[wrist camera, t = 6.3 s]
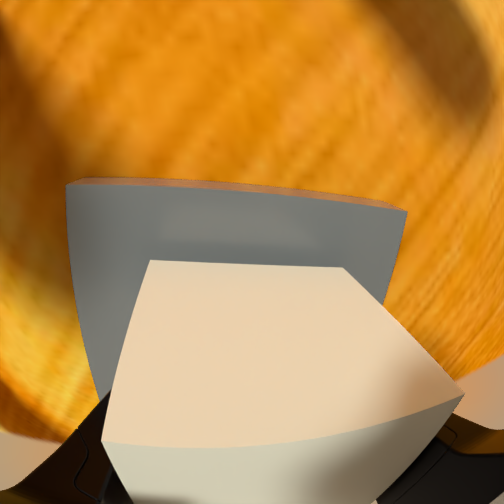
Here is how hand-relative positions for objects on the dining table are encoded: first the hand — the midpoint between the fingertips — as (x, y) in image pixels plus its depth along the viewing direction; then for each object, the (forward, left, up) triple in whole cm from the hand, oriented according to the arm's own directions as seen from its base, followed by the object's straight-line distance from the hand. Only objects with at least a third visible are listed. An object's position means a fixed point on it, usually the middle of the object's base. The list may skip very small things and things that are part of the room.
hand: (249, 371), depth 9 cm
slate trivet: (0, 0, -4) cm, 4 cm away
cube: (0, 0, -1) cm, 1 cm away
